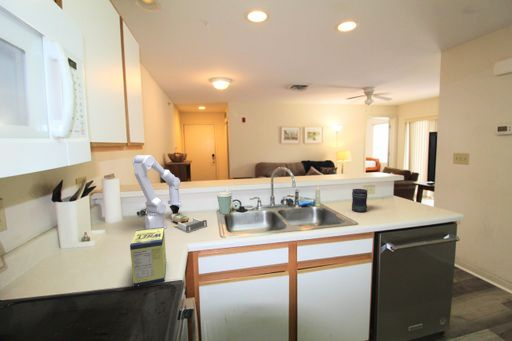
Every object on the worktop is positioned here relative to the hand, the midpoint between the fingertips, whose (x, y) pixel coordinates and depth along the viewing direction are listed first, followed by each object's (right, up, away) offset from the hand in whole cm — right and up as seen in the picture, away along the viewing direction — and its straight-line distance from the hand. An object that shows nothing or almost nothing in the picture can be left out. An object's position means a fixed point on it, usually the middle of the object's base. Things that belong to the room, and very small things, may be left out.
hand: (175, 216), depth 151 cm
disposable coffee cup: (+30, -1, +15) cm, 33 cm away
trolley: (+4, -3, -4) cm, 6 cm away
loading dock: (+12, -5, -10) cm, 16 cm away
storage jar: (+125, +1, +15) cm, 126 cm away
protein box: (+11, -11, -60) cm, 62 cm away
